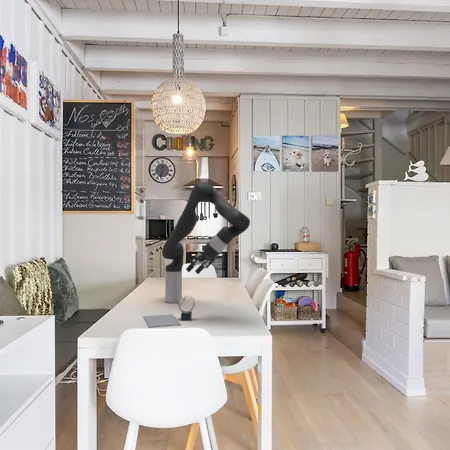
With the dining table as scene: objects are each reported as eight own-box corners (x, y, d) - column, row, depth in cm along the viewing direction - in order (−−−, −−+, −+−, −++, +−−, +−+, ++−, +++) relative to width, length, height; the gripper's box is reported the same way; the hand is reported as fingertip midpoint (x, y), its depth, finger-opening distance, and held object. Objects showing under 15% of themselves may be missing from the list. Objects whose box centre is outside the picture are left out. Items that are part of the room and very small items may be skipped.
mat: (143, 316, 194) (143, 316, 194) (172, 315, 198) (172, 314, 198) (148, 327, 175) (148, 326, 175) (181, 325, 179) (181, 324, 179)
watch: (178, 317, 193) (178, 294, 193) (195, 317, 193) (195, 294, 193) (176, 320, 188) (176, 296, 187) (194, 320, 187) (194, 296, 187)
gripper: (217, 243, 196) (194, 267, 199) (203, 238, 184) (179, 264, 186) (226, 254, 193) (203, 278, 196) (213, 249, 181) (188, 276, 183)
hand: (192, 271), depth 191 cm, fingers open, 8 cm apart
